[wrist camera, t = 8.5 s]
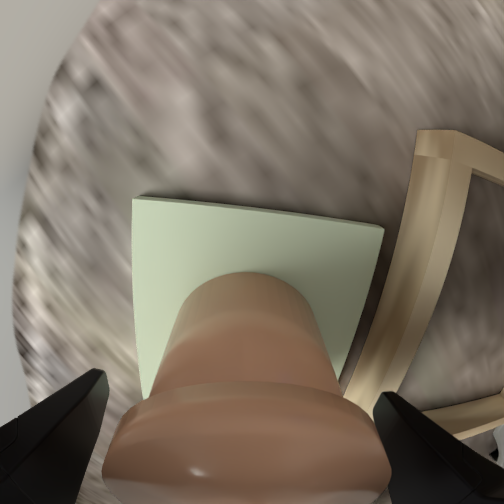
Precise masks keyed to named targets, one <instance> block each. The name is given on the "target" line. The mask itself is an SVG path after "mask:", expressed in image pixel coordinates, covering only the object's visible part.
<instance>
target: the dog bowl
mask: <svg viewBox="0 0 504 504" xmlns="http://www.w3.org/2000/svg"><path fill="white" fill-rule="evenodd" d="M493 436H494V438H495V439H496V442H497V445H498V450H499V453H496V454H489V455H490V457H491V458H492V459H493V460H494V461H495V462H496V463H497V464H498V465H499V466H501V467H502V468H504V424H503V425H500V426H498V427H496V429H495V430H494V432H493Z"/></svg>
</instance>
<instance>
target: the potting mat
mask: <svg viewBox="0 0 504 504" xmlns="http://www.w3.org/2000/svg"><path fill="white" fill-rule="evenodd" d="M384 230H385V229H384V228H382V227H381V226H379V225H375V224H369V223H363V222H356V221H350V220H343V219H337V218H330V217H323V216H316V215H309V214H302V213H294V212H287V211H279V210H271V209H263V208H255V207H246V206H238V205H229V204H220V203H210V202H200V201H190V200H180V199H169V198H157V197H145V196H137V197H135V198H133V201H132V284H133V305H134V320H135V333H136V344H137V354H138V364H139V372H140V380H141V387H142V395H143V400H144V399H147V398H149V395H150V392H151V389H152V386H153V383H154V380H155V377H156V374H157V371H158V368H159V365H160V362H161V359H162V356H163V353H164V351H165V348H166V345H167V342H168V339H169V336H170V334H171V331H172V328H173V325H174V323H175V320H176V317H177V314H178V312H179V310H180V307H181V305H182V304H183V302H184V301H185V299H186V298H187V297H188V296H189V295H190V293H191V292H193V291H194V290H195V289H196V288H197V287H199V286H200V285H202V284H203V283H205V282H207V281H209V280H211V279H213V278H216V277H219V276H222V275H225V274H231V273H238V272H254V273H260V274H266V275H269V276H273V277H276V278H278V279H280V280H282V281H284V282H286V283H288V284H289V285H291V286H293V287H294V288H295V289H296V290H298V291H299V292H300V293H301V294H302V295H303V296H304V298H305V299H306V300H307V302H308V303H309V305H310V307H311V309H312V311H313V313H314V316H315V319H316V321H317V324H318V327H319V329H320V332H321V335H322V338H323V340H324V343H325V346H326V349H327V352H328V354H329V357H330V360H331V363H332V366H333V369H334V371H335V374H336V377H337V380H338V379H339V376H340V374H341V371H342V368H343V366H344V363H345V360H346V358H347V355H348V352H349V349H350V347H351V344H352V341H353V338H354V335H355V332H356V329H357V326H358V323H359V320H360V317H361V314H362V311H363V308H364V304H365V301H366V298H367V294H368V291H369V288H370V284H371V281H372V277H373V273H374V270H375V266H376V262H377V259H378V255H379V251H380V247H381V243H382V239H383V234H384Z"/></svg>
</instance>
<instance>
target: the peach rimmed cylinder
mask: <svg viewBox="0 0 504 504" xmlns="http://www.w3.org/2000/svg"><path fill="white" fill-rule="evenodd" d="M391 471H392V469H391V466H390V463H389V460H388V458H387V455H386V452H385V450H384V447H383V445H382V442H381V439H380V437H379V434H378V432H377V429H376V426H375V424H374V422H373V420H372V419H371V417H370V416H369V415H368V413H366V412H365V411H364V410H363V409H362V408H361V407H359V406H358V405H356V404H355V403H353V402H351V401H349V400H348V399H346V398H344V397H343V395H342V392H341V389H340V386H339V383H338V380H337V377H336V374H335V371H334V369H333V366H332V363H331V360H330V357H329V354H328V352H327V349H326V346H325V343H324V340H323V338H322V335H321V332H320V329H319V327H318V324H317V321H316V319H315V316H314V313H313V311H312V309H311V307H310V305H309V303H308V302H307V300H306V299H305V298H304V296H303V295H302V294H301V293H300V292H299V291H298V290H296V289H295V288H294V287H293V286H291V285H289V284H288V283H286V282H284V281H282V280H280V279H278V278H276V277H273V276H269V275H266V274H260V273H254V272H238V273H231V274H225V275H222V276H219V277H216V278H213V279H211V280H209V281H207V282H205V283H203V284H202V285H200V286H199V287H197V288H196V289H195V290H194V291H193V292H191V293H190V295H189V296H188V297H187V298H186V299H185V301H184V302H183V304H182V305H181V307H180V310H179V312H178V314H177V317H176V320H175V323H174V325H173V328H172V331H171V334H170V336H169V339H168V342H167V345H166V348H165V351H164V353H163V356H162V359H161V362H160V365H159V368H158V371H157V374H156V377H155V380H154V383H153V386H152V389H151V392H150V395H149V398H147V399H144V400H142V401H141V402H139V403H138V404H136V405H134V406H133V407H131V408H130V409H129V410H128V411H127V412H126V413H125V414H124V415H123V416H122V418H121V419H120V421H119V423H118V425H117V427H116V430H115V433H114V435H113V438H112V441H111V443H110V446H109V449H108V452H107V455H106V457H105V460H104V463H103V467H102V478H103V481H104V483H105V485H106V487H107V488H108V489H109V491H110V492H111V493H112V494H113V495H114V496H115V497H116V498H117V499H118V500H119V501H120V502H121V503H122V504H371V503H372V502H373V501H374V500H376V499H377V498H378V497H379V496H380V495H381V494H382V492H383V491H384V490H385V489H386V487H387V485H388V484H389V481H390V479H391Z"/></svg>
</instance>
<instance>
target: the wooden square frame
mask: <svg viewBox="0 0 504 504" xmlns="http://www.w3.org/2000/svg"><path fill="white" fill-rule="evenodd" d="M471 174H473V175H476V176H479V177H481V178H484V179H486V180H489V181H491V182H494V183H496V184H498V185H501V186H503V187H504V153H503V152H501V151H499V150H497V149H495V148H493V147H491V146H489V145H487V144H485V143H483V142H481V141H479V140H477V139H474V138H472V137H470V136H468V135H466V134H463V133H461V132H459V131H456V130H417V137H416V144H415V151H414V158H413V164H412V170H411V176H410V182H409V187H408V192H407V197H406V202H405V207H404V212H403V216H402V221H401V225H400V229H399V233H398V238H397V242H396V246H395V249H394V253H393V257H392V261H391V264H390V268H389V271H388V275H387V278H386V282H385V285H384V288H383V292H382V295H381V298H380V301H379V304H378V307H377V310H376V313H375V316H374V319H373V322H372V325H371V328H370V331H369V334H368V336H367V339H366V342H365V345H364V347H363V350H362V353H361V355H360V358H359V360H358V363H357V365H356V368H355V370H354V373H353V375H352V378H351V380H350V382H349V385H348V387H347V389H346V392H345V394H344V396H343V397H344V398H346V399H348V400H349V401H351V402H353V403H355V404H356V405H358V406H359V407H361V408H362V409H363V410H364V411H365V412H366V413H368V415H369V416H370V417H371V419H372V420H373V422H374V419H373V407H374V405H375V404H376V402H377V400H378V398H379V396H380V394H381V393H382V392H384V391H394V392H395V393H396V392H397V390H398V388H399V386H400V384H401V383H402V381H403V379H404V377H405V375H406V373H407V371H408V369H409V367H410V364H411V362H412V360H413V358H414V356H415V354H416V352H417V350H418V347H419V345H420V343H421V341H422V338H423V336H424V334H425V331H426V329H427V326H428V324H429V322H430V319H431V317H432V314H433V311H434V309H435V306H436V303H437V301H438V298H439V295H440V293H441V290H442V287H443V284H444V281H445V278H446V275H447V272H448V269H449V265H450V262H451V259H452V255H453V252H454V249H455V245H456V241H457V238H458V234H459V230H460V226H461V222H462V218H463V213H464V209H465V204H466V199H467V194H468V189H469V184H470V178H471ZM422 413H423V414H424V415H426V416H427V417H428V418H430V419H431V420H433V421H434V422H435V423H437V424H438V425H439V426H441V427H442V428H443V429H445V430H446V431H447V432H449V433H450V434H451V435H453V436H454V437H456V438H457V439H458V440H462V439H465V438H468V437H471V436H474V435H477V434H479V433H482V432H485V431H487V430H490V429H493V428H495V427H498V426H500V425H503V424H504V388H503V389H502V391H501V393H500V394H497V395H493V396H490V397H486V398H482V399H479V400H475V401H471V402H467V403H463V404H458V405H454V406H449V407H444V408H439V409H434V410H429V411H423V412H422Z"/></svg>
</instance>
